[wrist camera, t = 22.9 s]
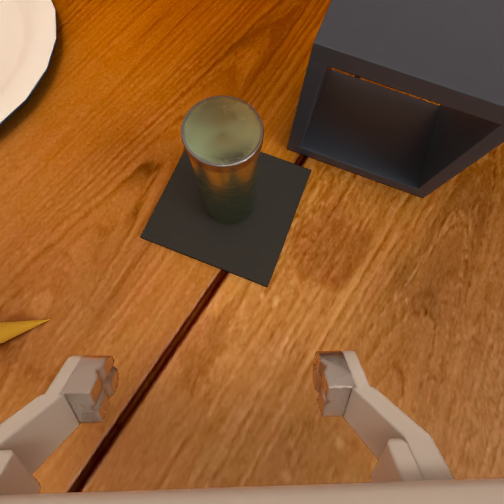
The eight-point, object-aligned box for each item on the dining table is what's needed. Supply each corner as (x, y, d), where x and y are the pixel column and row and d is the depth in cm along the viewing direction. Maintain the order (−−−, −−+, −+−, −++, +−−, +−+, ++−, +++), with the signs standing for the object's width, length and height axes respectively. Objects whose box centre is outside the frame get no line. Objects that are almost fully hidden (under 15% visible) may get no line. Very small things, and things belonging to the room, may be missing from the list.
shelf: (443, 116, 30) (556, 0, 19) (423, 198, 27) (538, 117, 17) (317, 73, 31) (357, -61, 20) (286, 149, 28) (313, 42, 18)
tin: (263, 188, 27) (275, 110, 17) (244, 233, 25) (245, 178, 16) (215, 170, 27) (201, 84, 17) (195, 215, 26) (166, 149, 16)
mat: (310, 172, 28) (311, 169, 27) (267, 287, 25) (267, 286, 24) (196, 130, 28) (195, 128, 28) (141, 238, 25) (140, 236, 25)
